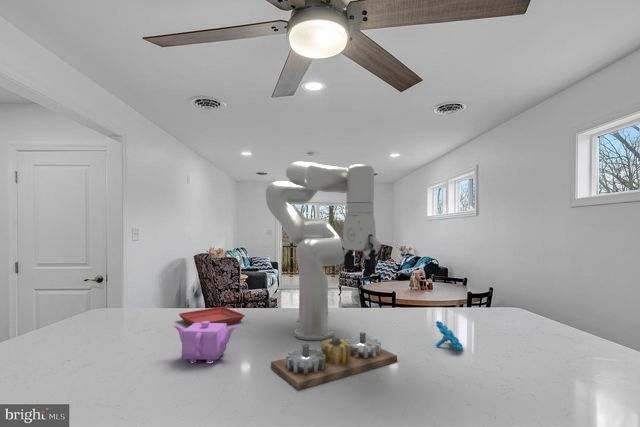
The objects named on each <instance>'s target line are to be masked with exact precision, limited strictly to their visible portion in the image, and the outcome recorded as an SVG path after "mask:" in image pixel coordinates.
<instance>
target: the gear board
mask: <svg viewBox="0 0 640 427" xmlns="http://www.w3.org/2000/svg"><path fill="white" fill-rule="evenodd" d="M331 339H332V345H340V339H341V338H339V337H332V338H331ZM317 351H318V352H319V351H320V350H317ZM396 362H398V355H397V354H394V353H392V352H390V351H387V350H386V349H383V348H381V352H380V355H376V357H368V358H364V357H358V358H357V357H355V356H354V355H350V361H349V362H347V361H346V363H344V364H342V363H339V364H335V363H332V364H329V363H328V362H325V366H324V369H323V370H318V372H317V373H313V372H309V373H308V374H304V373H302V372H299V373H294V371H293V370H291V371H289V370H287V367H286V358H281V359H279V360H273V361H270V368H271V369H272V370H273V371H274V372H276V373H277V374H278V375H279V376H280V377H282V378H283V379H284V380H285V381H287V383H289V384H290V385H291V386H292V387H294V388H295V389H296V390H298V391H300V390H302V389H306V388H311V387H314V386H316V385H320V384H324V383H327V382H330V381H333V380H337V379H341V378H345V377H348V376H351V375H355V374H358V373H362V372H365V371H369V370H373V369H375V368H379V367H383V366H385V365H389V364H390V365H391V364H392V363H396Z"/></svg>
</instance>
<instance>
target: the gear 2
mask: <svg viewBox="0 0 640 427" xmlns="http://www.w3.org/2000/svg"><path fill="white" fill-rule="evenodd" d="M346 340H347V341H348V342H350V355H354V356H355V357H357V358H358V357H364V358H368V357H376V355H380V352H381V349H382V348H381V346H382V344H381V341H378V338H371V337H370V336H367V333H366V332H359V336H358V337H354V336H352V337H350V339H348V338H347V339H346Z"/></svg>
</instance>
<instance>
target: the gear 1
mask: <svg viewBox="0 0 640 427" xmlns="http://www.w3.org/2000/svg"><path fill="white" fill-rule="evenodd" d="M318 351H319V352H318ZM285 359H286V367H287V370H289V371H291V370H293V371H294V373H299V372H302V373H304V374H308V373H309V372H313V373H317V372H318V370H323V369H324V366H325V354H323V352H322V351H321V350H317V349H315V348H312V349H310V345H309V344H307V343H306V344H302V349H294V351H289V352H288V353H287V354H286V355H285Z"/></svg>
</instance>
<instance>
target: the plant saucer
mask: <svg viewBox="0 0 640 427" xmlns="http://www.w3.org/2000/svg"><path fill="white" fill-rule="evenodd" d="M178 315H179V317H180V318H181V319H182V320H183V321H184V322H185V323H186V322H187V324H188V323H189V325H190V324H191V325H192V324H194V323H201V322H203V321H209V322H210V323H226V324H227V326H228V324H229V325H233V323H234V324H238V323H240V322H241V321H242V320H243V319H244V318H245V316H246V315H245V314H244V313H240V312H238V311H236V310H232V309H231V308H227V307H225V306H219V307H213V308H206V309H199V310H193V311H186V312H181V313H179V314H178ZM191 325H190V326H191Z"/></svg>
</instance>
